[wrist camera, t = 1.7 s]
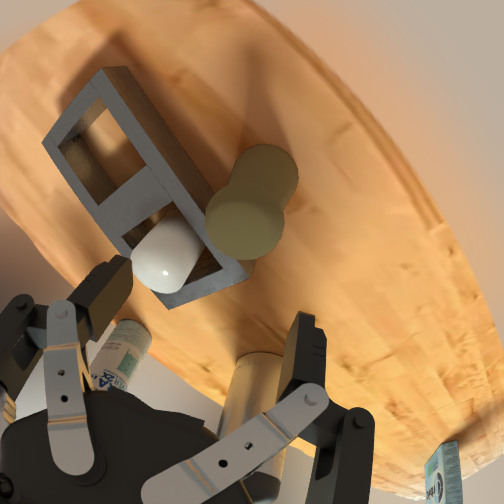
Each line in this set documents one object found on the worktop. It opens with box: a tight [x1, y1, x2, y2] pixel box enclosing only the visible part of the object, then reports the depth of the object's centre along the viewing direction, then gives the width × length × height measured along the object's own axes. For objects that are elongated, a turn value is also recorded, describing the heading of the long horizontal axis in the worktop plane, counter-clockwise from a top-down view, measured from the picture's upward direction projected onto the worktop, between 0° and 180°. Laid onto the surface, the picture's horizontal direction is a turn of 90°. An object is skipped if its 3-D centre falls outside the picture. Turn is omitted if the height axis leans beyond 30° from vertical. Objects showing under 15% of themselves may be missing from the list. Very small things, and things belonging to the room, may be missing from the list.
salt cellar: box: [130, 209, 206, 294], centre depth 30 cm, size 6×6×7 cm
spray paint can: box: [90, 319, 152, 392], centre depth 37 cm, size 6×6×20 cm
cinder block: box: [42, 66, 256, 310], centre depth 29 cm, size 24×11×4 cm, turn 33°
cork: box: [204, 144, 299, 260], centre depth 23 cm, size 6×6×11 cm
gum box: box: [425, 440, 463, 504], centre depth 47 cm, size 20×5×23 cm, turn 14°
